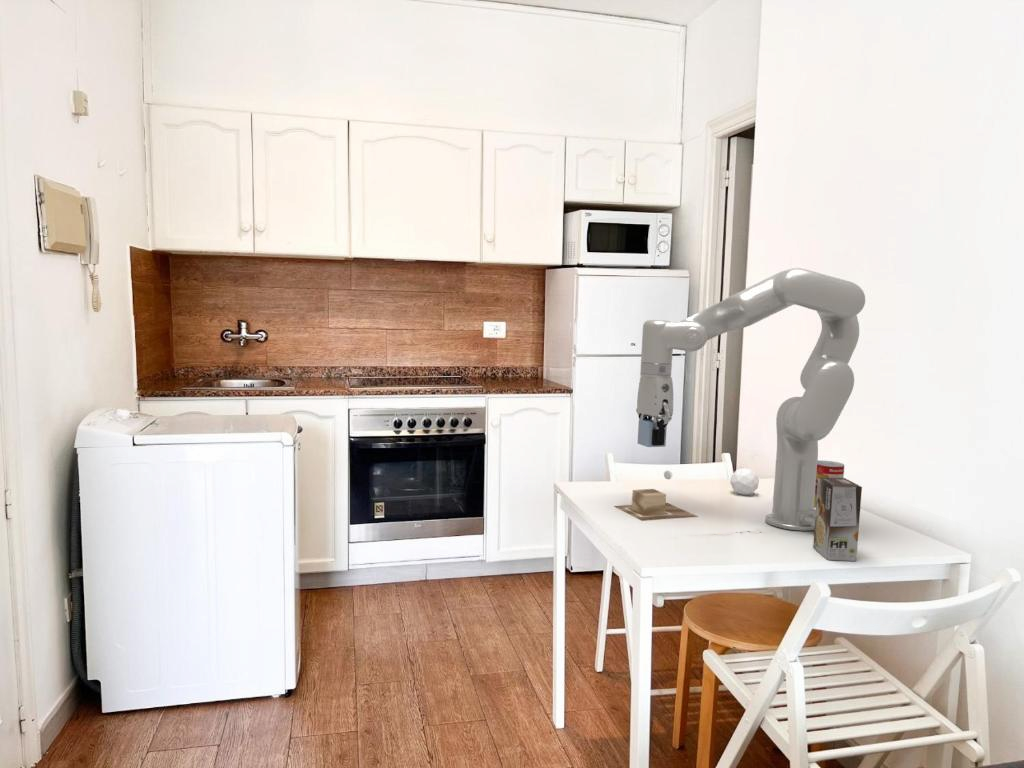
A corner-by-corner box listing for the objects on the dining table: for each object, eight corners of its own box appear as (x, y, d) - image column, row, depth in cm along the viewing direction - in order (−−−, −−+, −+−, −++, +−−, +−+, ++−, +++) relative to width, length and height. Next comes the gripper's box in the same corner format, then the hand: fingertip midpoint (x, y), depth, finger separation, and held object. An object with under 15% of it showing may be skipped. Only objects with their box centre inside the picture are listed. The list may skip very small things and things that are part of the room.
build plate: (697, 521, 185) (698, 516, 185) (641, 525, 180) (641, 520, 180) (666, 507, 198) (667, 502, 198) (613, 510, 193) (613, 505, 193)
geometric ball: (749, 505, 216) (761, 487, 210) (723, 492, 217) (734, 474, 212) (754, 488, 221) (765, 470, 216) (729, 476, 223) (739, 458, 218)
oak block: (665, 514, 187) (666, 494, 186) (644, 515, 184) (645, 495, 184) (652, 507, 192) (653, 488, 192) (631, 509, 190) (632, 489, 190)
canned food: (823, 501, 212) (827, 459, 210) (847, 508, 205) (850, 465, 203) (803, 503, 208) (807, 461, 207) (827, 510, 201) (830, 466, 200)
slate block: (665, 446, 185) (666, 422, 185) (647, 447, 184) (649, 422, 183) (654, 443, 190) (656, 419, 189) (637, 443, 188) (638, 419, 188)
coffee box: (857, 561, 158) (863, 486, 157) (827, 560, 158) (832, 485, 157) (840, 548, 167) (845, 477, 166) (811, 547, 167) (816, 476, 166)
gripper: (688, 373, 179) (683, 449, 180) (650, 367, 194) (646, 437, 196) (661, 373, 176) (656, 449, 177) (625, 367, 192) (621, 437, 193)
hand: (651, 442), depth 187 cm, fingers closed on slate block, 5 cm apart
